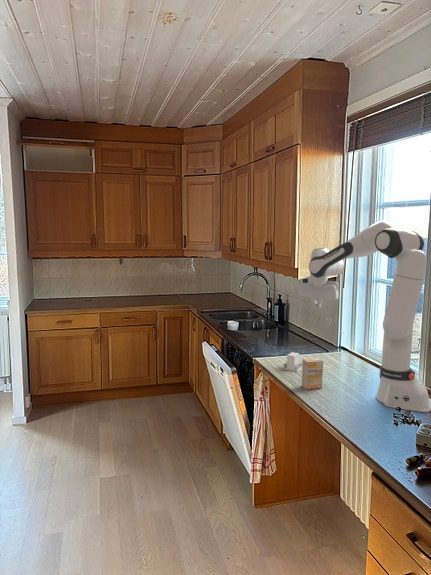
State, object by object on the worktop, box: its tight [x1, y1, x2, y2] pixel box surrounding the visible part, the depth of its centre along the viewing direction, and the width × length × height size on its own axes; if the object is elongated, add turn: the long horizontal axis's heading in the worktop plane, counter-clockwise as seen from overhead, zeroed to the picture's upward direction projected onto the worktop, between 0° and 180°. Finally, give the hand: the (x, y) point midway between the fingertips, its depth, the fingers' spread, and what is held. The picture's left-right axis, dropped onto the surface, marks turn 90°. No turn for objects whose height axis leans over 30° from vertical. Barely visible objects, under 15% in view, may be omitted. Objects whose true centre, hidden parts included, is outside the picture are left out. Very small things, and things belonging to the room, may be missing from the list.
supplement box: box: [301, 357, 324, 390], centre depth 203 cm, size 8×5×13 cm, turn 105°
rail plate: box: [282, 361, 302, 373], centre depth 229 cm, size 8×7×3 cm
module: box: [286, 351, 300, 370], centre depth 229 cm, size 4×6×7 cm, turn 146°
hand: (317, 307), depth 229 cm, fingers closed
